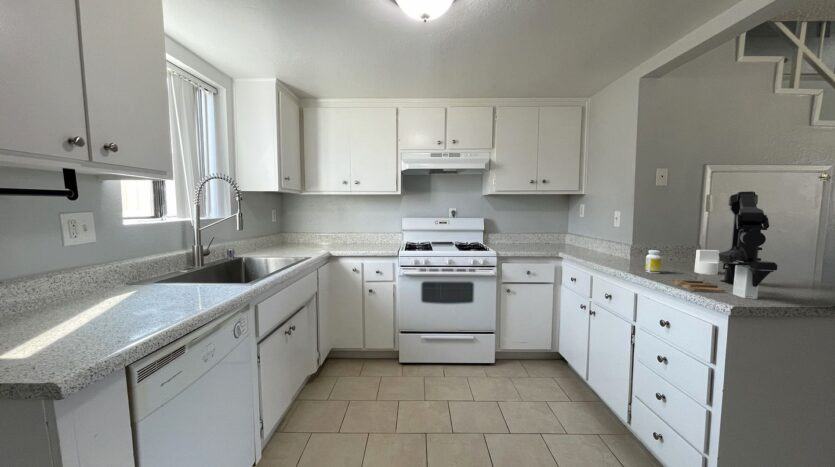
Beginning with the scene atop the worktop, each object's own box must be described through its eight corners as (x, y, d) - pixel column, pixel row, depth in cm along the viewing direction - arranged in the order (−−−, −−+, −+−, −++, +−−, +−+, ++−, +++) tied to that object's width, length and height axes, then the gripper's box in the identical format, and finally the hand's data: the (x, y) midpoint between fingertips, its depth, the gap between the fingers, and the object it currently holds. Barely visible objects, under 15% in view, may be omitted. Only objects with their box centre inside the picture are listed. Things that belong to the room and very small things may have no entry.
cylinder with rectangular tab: (701, 274, 160) (703, 251, 159) (690, 270, 168) (692, 248, 167) (722, 275, 158) (724, 251, 156) (710, 271, 166) (712, 249, 165)
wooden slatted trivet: (672, 283, 142) (672, 278, 142) (699, 284, 140) (700, 279, 140) (693, 291, 128) (694, 286, 128) (724, 292, 126) (725, 287, 126)
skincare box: (757, 299, 118) (761, 268, 117) (744, 298, 119) (747, 267, 118) (744, 294, 124) (747, 265, 123) (731, 294, 125) (734, 264, 124)
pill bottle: (663, 273, 161) (665, 251, 160) (651, 273, 161) (652, 251, 160) (654, 271, 167) (655, 249, 166) (642, 271, 167) (643, 249, 166)
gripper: (706, 240, 130) (703, 277, 132) (744, 246, 112) (740, 289, 114) (737, 241, 128) (733, 278, 130) (781, 247, 110) (776, 290, 112)
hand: (744, 283), depth 121 cm, fingers open, 9 cm apart
